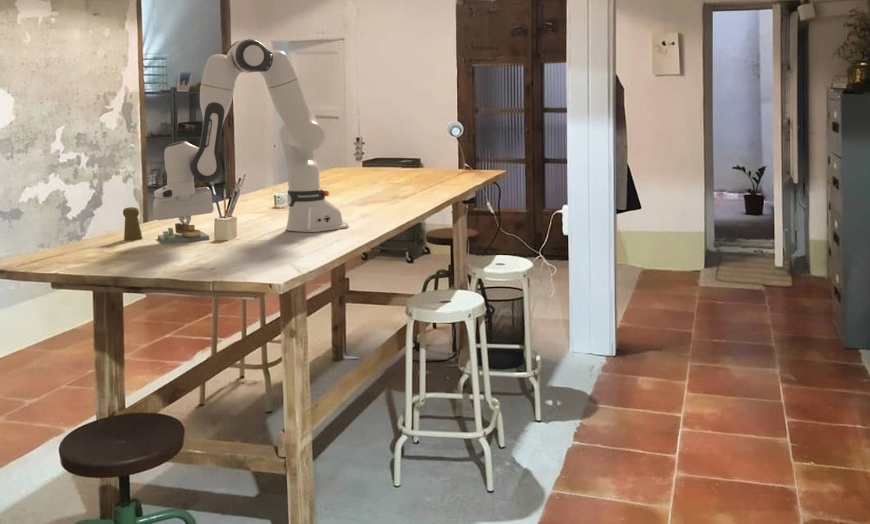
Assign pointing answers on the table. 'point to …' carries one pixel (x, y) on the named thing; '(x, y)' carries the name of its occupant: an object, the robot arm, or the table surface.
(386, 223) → the table surface
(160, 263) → the table surface
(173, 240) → the board
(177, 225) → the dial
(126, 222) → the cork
